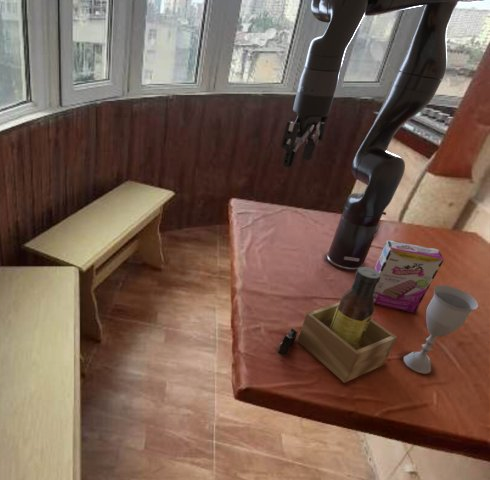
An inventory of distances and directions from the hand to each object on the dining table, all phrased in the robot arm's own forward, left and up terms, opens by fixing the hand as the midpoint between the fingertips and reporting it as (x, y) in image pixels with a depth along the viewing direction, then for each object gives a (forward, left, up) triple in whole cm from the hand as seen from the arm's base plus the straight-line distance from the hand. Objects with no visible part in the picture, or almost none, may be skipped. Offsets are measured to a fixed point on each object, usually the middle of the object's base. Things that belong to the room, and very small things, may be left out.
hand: (297, 162), depth 97 cm
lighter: (+16, +23, -32) cm, 43 cm away
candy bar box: (-20, +22, -32) cm, 44 cm away
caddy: (+6, +29, -32) cm, 44 cm away
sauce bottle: (+6, +29, -31) cm, 43 cm away
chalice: (-7, +38, -32) cm, 50 cm away
